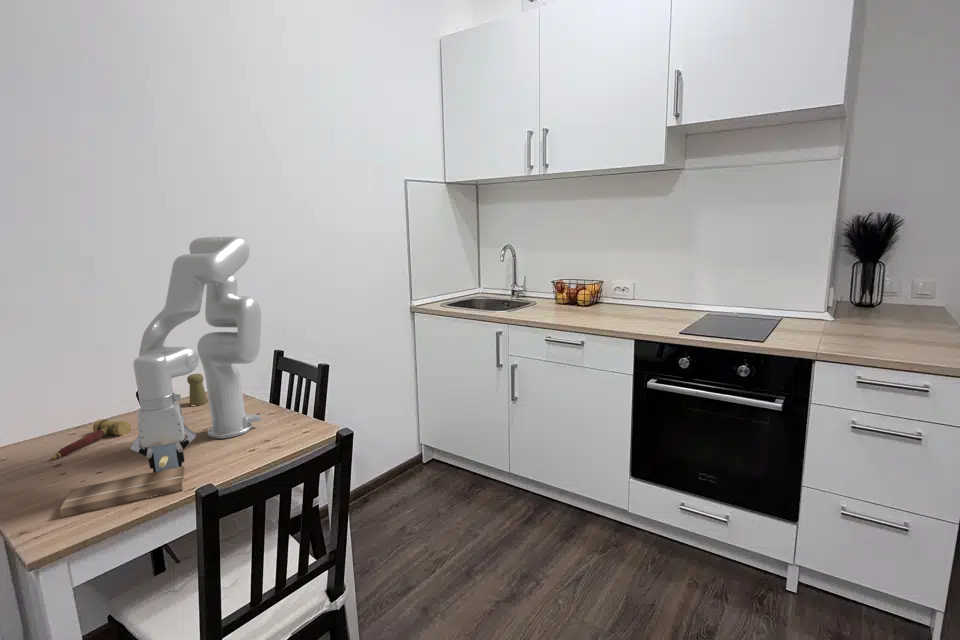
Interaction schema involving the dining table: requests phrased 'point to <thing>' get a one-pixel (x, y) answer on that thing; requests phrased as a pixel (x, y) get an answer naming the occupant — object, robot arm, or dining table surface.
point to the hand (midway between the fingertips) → (168, 466)
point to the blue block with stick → (165, 457)
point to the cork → (197, 390)
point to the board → (122, 491)
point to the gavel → (96, 435)
